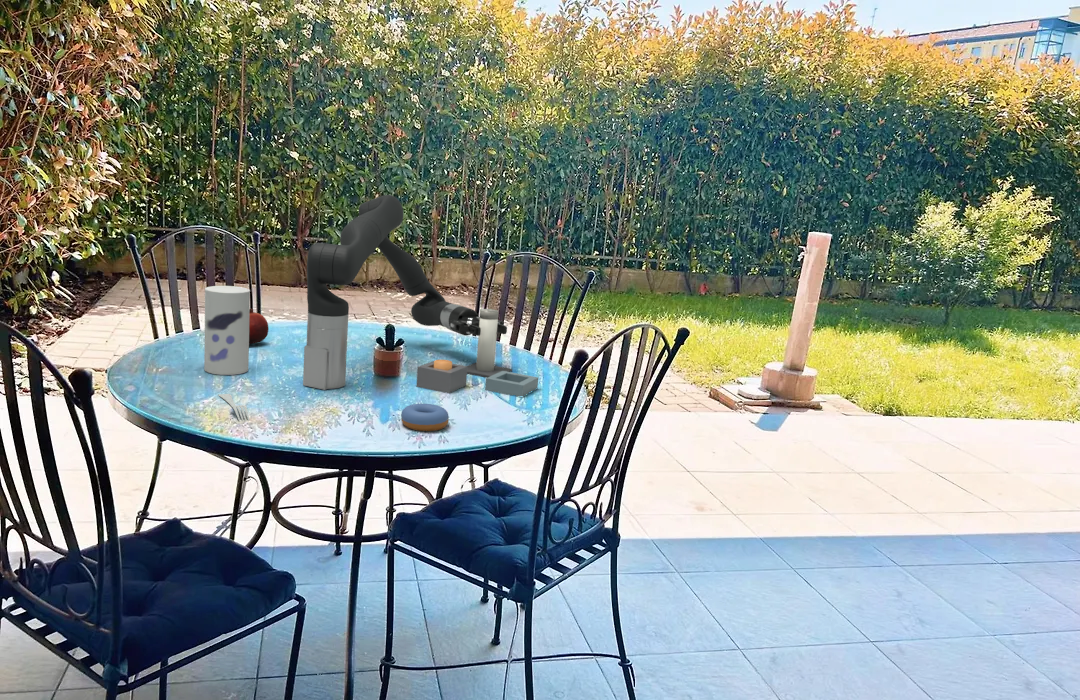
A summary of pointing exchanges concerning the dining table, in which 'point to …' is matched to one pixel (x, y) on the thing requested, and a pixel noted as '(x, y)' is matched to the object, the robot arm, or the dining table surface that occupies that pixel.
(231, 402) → the fork
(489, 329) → the cylinder
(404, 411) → the doughnut
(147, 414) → the dining table surface
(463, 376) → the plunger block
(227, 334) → the container
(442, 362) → the plunger
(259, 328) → the fruit
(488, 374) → the mat
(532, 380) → the housing
